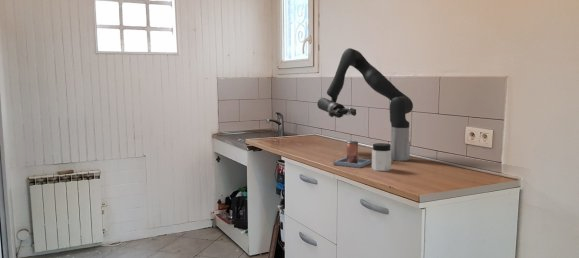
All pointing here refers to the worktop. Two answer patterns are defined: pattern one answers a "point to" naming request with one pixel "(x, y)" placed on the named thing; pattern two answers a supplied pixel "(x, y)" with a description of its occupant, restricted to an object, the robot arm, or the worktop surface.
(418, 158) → the worktop surface
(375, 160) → the jar
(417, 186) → the worktop surface
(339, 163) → the tray
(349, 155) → the canister
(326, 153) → the worktop surface
